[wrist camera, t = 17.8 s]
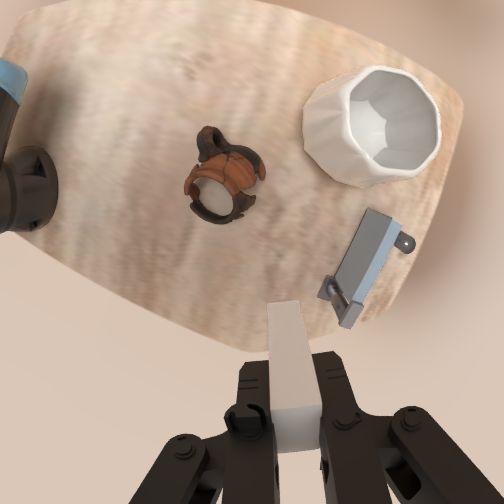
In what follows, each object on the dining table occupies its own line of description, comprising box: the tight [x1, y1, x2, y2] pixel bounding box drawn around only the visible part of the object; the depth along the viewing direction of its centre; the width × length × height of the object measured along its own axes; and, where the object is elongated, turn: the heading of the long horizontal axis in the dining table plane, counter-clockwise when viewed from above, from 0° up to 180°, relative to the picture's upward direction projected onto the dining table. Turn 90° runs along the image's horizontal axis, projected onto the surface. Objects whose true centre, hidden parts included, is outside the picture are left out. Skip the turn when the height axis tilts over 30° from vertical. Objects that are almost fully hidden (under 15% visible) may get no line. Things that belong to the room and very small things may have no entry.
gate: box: [335, 208, 402, 329], centre depth 34 cm, size 14×2×9 cm, turn 159°
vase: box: [302, 64, 442, 188], centre depth 27 cm, size 14×14×15 cm
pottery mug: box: [184, 126, 266, 224], centre depth 34 cm, size 12×9×8 cm
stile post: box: [376, 211, 416, 254], centre depth 33 cm, size 4×4×10 cm
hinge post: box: [317, 275, 349, 320], centre depth 37 cm, size 4×4×8 cm
